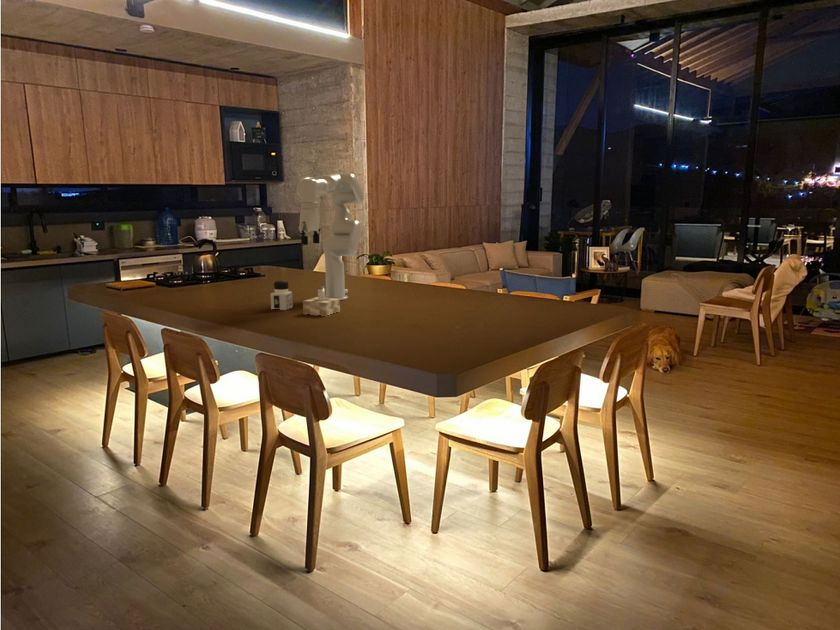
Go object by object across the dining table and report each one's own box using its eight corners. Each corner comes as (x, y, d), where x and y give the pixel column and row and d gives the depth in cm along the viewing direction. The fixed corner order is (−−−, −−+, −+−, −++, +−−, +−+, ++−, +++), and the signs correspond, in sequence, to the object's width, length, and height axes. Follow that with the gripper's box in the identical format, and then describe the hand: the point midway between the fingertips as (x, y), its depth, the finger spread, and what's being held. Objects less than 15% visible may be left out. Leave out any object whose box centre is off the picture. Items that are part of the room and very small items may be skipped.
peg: (320, 312, 290) (320, 286, 288) (326, 312, 289) (325, 286, 286) (317, 313, 287) (316, 287, 285) (322, 313, 286) (322, 287, 284)
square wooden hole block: (317, 309, 296) (317, 297, 295) (340, 311, 291) (339, 298, 290) (303, 314, 285) (302, 301, 284) (326, 316, 280) (326, 302, 279)
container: (286, 310, 294) (285, 282, 292) (270, 309, 296) (269, 282, 293) (293, 307, 302) (292, 280, 299) (277, 306, 303) (276, 279, 301)
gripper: (312, 206, 299) (313, 242, 303) (291, 206, 284) (293, 245, 287) (326, 206, 296) (327, 242, 300) (305, 206, 281) (307, 245, 284)
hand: (310, 243), depth 293 cm, fingers open, 9 cm apart
